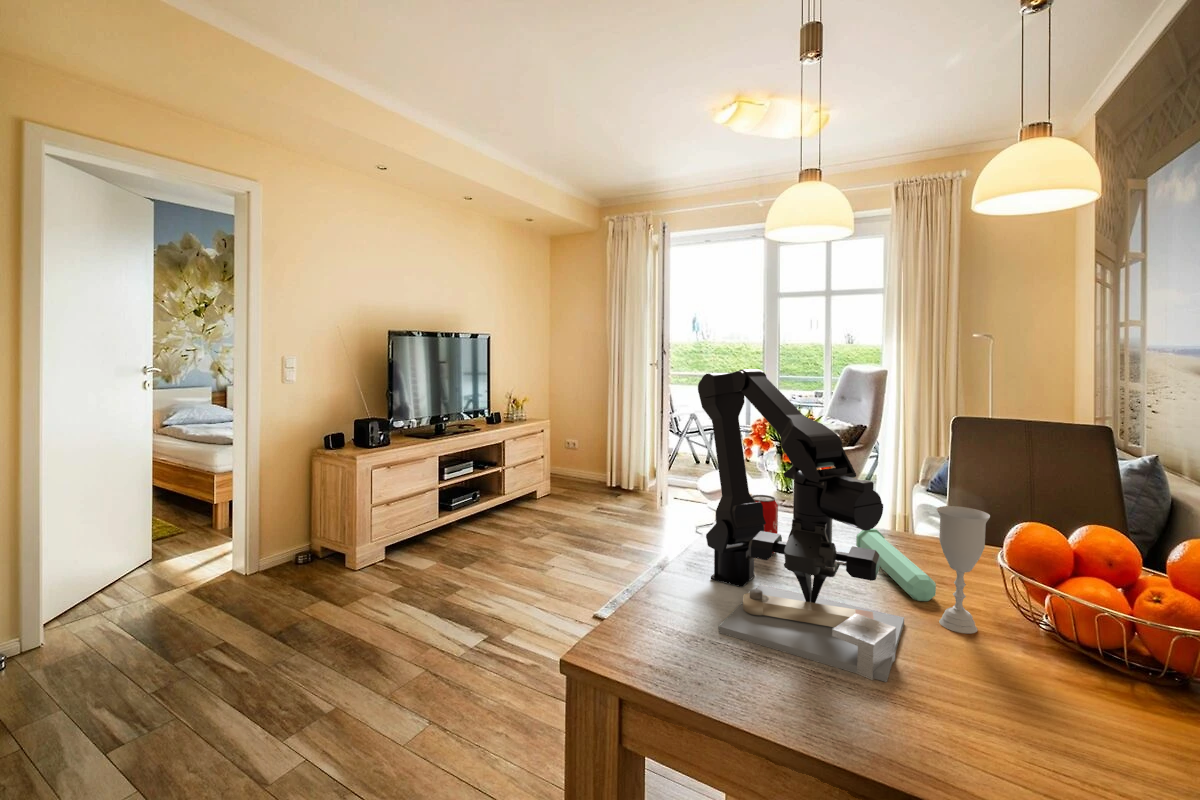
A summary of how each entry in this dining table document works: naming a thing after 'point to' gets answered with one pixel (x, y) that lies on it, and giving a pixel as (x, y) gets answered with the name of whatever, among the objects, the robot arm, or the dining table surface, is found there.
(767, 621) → the base board
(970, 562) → the chalice
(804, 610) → the latch arm
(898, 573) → the green octagonal rod
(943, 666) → the dining table surface
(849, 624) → the block
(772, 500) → the soda can
